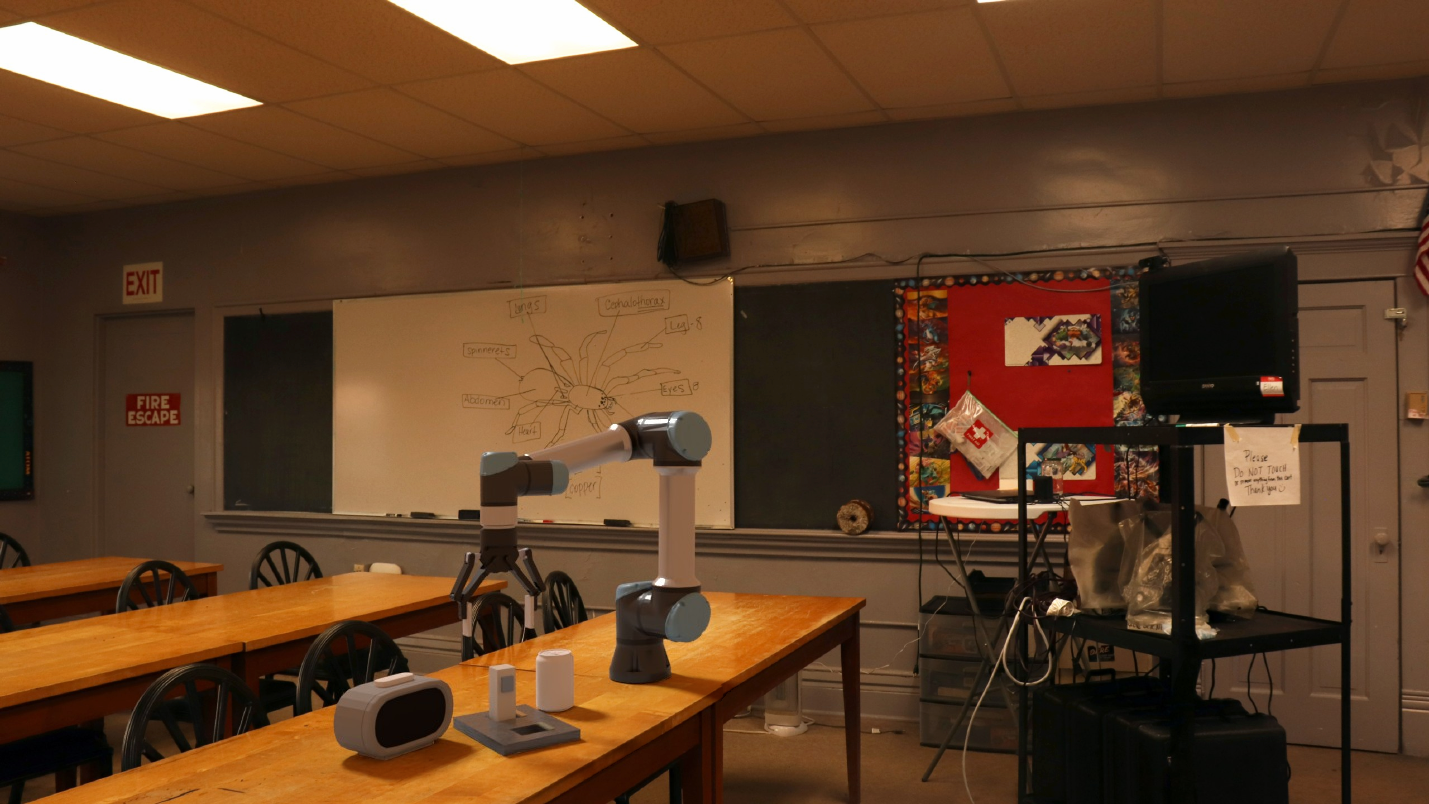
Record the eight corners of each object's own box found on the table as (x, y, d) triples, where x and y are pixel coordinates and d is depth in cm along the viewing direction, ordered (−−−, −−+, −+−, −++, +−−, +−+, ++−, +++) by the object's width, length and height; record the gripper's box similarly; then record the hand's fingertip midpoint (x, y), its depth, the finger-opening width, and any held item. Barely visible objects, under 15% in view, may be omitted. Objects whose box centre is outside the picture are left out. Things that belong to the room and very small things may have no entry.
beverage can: (566, 714, 209) (566, 656, 210) (530, 712, 211) (530, 655, 211) (579, 704, 217) (578, 648, 218) (544, 702, 219) (544, 647, 219)
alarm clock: (367, 768, 175) (368, 692, 176) (333, 760, 180) (333, 686, 181) (455, 738, 193) (455, 669, 193) (421, 731, 198) (421, 664, 198)
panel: (525, 713, 210) (525, 703, 210) (580, 739, 191) (580, 728, 191) (453, 727, 200) (453, 716, 200) (503, 756, 181) (503, 744, 181)
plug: (507, 722, 203) (507, 663, 204) (517, 728, 199) (517, 667, 200) (489, 726, 201) (489, 666, 201) (499, 731, 197) (498, 670, 197)
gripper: (545, 522, 213) (545, 621, 212) (432, 529, 198) (432, 636, 197) (562, 524, 207) (562, 626, 206) (447, 531, 192) (446, 641, 191)
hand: (498, 631), depth 201 cm, fingers open, 13 cm apart
